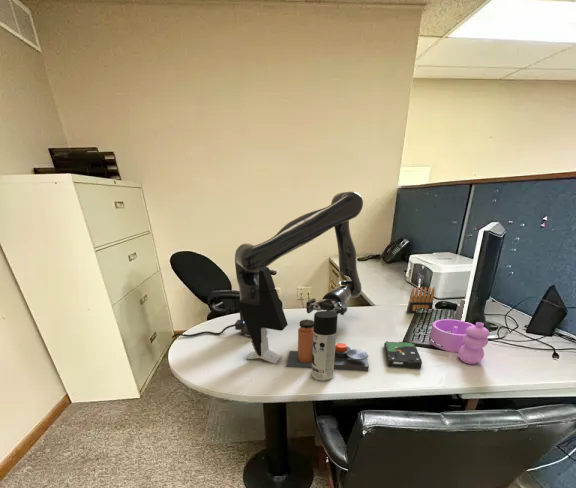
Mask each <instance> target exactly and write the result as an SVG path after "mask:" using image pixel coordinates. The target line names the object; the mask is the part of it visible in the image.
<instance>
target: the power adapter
mask: <svg viewBox="0 0 576 488" xmlns="http://www.w3.org/2000/svg"><path fill="white" fill-rule="evenodd" d="M466 297H467V293H465V294H464V298H461V299H460V302H459V303H457V305H456V310H455V312H454V317H453V319H454V320H460V321H461V318H462V314H463V308H464V304H465V299H466Z"/></svg>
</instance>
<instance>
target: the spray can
mask: <svg viewBox="0 0 576 488" xmlns="http://www.w3.org/2000/svg"><path fill="white" fill-rule="evenodd" d="M313 315H314V316H313V321H314V328H313V352H312V368H311V376H312V378H313V379H314V380H316V381H320V382H326V381H330V380H331V379H333V377H334V371H335V369H334V358H335V345H336V344H337V332H338V316H339V314H338V315H337V314H336V313H335V312H332V311H326V310H325V311H324V310H321V311H315V313H314V314H313Z"/></svg>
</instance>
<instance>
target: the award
mask: <svg viewBox="0 0 576 488" xmlns="http://www.w3.org/2000/svg"><path fill="white" fill-rule="evenodd" d="M259 291H260V292H259V300H256V299H248V298H243V299H242V300H240V299H239V301H238V302H237V303H236V304H237V307H238V310H239V313H240V312H241V315H242V317H243V319H244V322H245V324H246V327H247V329H248V332H249V334H250V336H251V337H250V339H251V341H250V343H251V345H252V349H253V350H254V351H253V352H252V353H251V354H250V355H249V356H248V357H247V358H246V360H255V359H262V360H264V361H266V362H268V363H271V364H274V365H276V364H277V363H278V362H279V360H280V359H281V358H282V356H281V355H279V354H277V353H276V352H274V351H273V350H272V349H270V347H269V337H268V336H267V329H268V330H273V331H274V330H275V331H280V332H282V331H284V330H285V328H286V327H287V326H288V321H287V317H286V314H285V312H284V308H283V305H282V303H281V299H280V297H279V294H278V291H277V288H276V285H275V283H274V279H273V276H272V273H271V270H270V267H268V266H267V267H265V268H263V269H261V270H259Z"/></svg>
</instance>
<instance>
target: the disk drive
mask: <svg viewBox="0 0 576 488" xmlns="http://www.w3.org/2000/svg"><path fill="white" fill-rule="evenodd" d="M383 349H384V353H385V358H386V363H387V366H388V367H391V368H403V369H404V368H405V369H422V367H423V366H422V365H423V361H422V358H421V356H420V354H419V351H418V349H417V346H416V343H415V342H409V341H387V340H386V341H385V342H384V343H383Z"/></svg>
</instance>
